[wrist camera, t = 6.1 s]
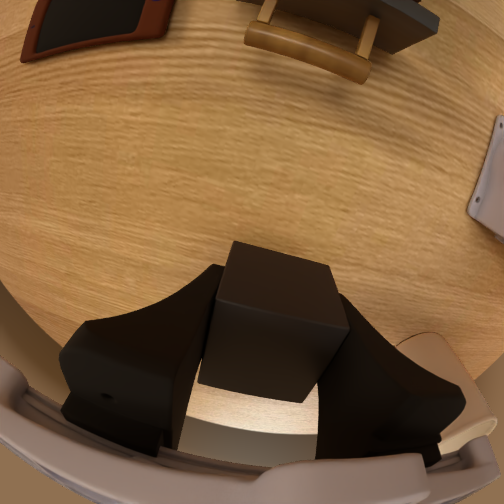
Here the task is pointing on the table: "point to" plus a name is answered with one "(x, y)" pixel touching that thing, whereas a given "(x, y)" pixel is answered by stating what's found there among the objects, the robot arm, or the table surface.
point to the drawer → (347, 20)
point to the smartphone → (92, 24)
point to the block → (272, 325)
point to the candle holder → (451, 369)
